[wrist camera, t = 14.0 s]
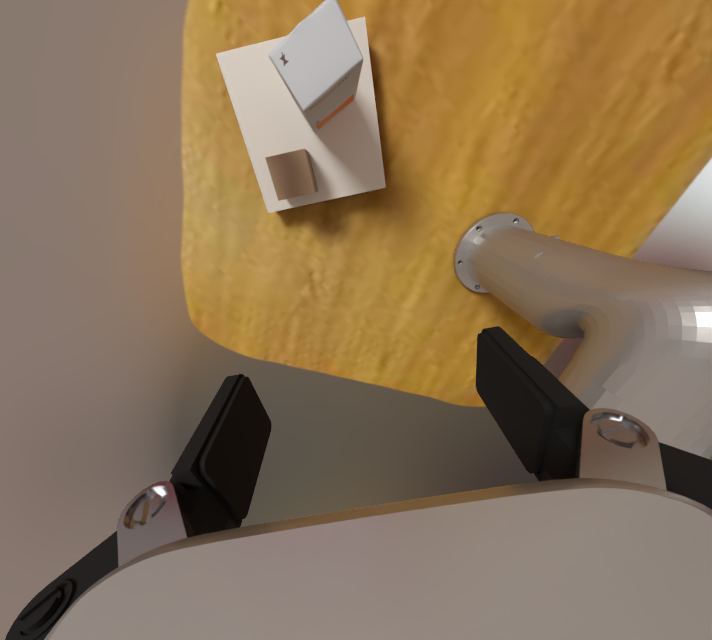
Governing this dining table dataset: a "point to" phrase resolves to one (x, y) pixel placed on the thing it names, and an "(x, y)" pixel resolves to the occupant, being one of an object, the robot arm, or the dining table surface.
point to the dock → (305, 125)
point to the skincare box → (320, 64)
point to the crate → (292, 174)
